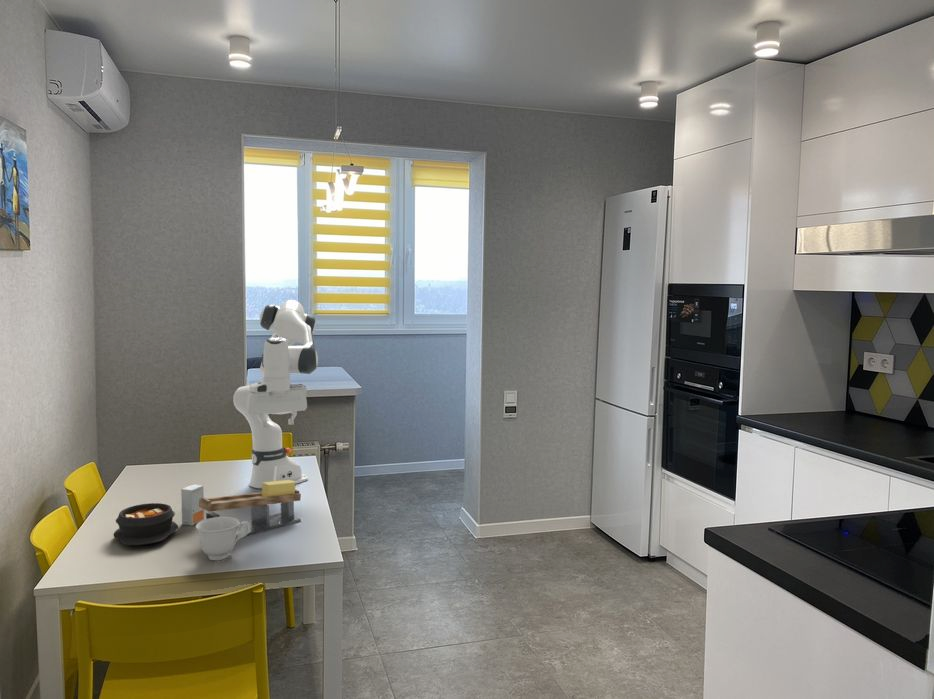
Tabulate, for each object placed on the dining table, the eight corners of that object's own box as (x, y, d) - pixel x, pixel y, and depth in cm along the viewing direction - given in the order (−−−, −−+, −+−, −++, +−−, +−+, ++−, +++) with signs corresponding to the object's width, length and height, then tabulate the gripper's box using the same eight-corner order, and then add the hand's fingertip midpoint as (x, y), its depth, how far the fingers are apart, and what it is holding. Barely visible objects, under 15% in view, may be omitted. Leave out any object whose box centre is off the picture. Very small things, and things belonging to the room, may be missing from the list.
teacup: (250, 561, 206) (249, 527, 205) (195, 566, 202) (194, 532, 201) (250, 545, 218) (249, 513, 217) (198, 551, 213) (197, 518, 212)
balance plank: (289, 495, 245) (290, 487, 245) (300, 500, 240) (301, 491, 240) (198, 506, 222) (199, 496, 222) (208, 511, 218) (209, 502, 217)
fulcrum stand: (285, 514, 246) (284, 491, 245) (300, 521, 239) (300, 498, 238) (200, 536, 225) (199, 511, 224) (215, 544, 218) (214, 519, 217)
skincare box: (192, 526, 234) (190, 490, 233) (181, 524, 236) (180, 488, 235) (204, 520, 240) (203, 485, 239) (194, 518, 241) (193, 483, 240)
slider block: (288, 492, 243) (289, 479, 243) (294, 495, 240) (295, 482, 240) (261, 495, 236) (262, 482, 236) (267, 498, 233) (268, 485, 233)
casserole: (177, 546, 217) (176, 519, 216) (109, 554, 210) (108, 527, 209) (179, 519, 240) (178, 495, 239) (117, 526, 234) (116, 501, 233)
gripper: (303, 382, 252) (304, 421, 253) (244, 385, 242) (245, 426, 243) (309, 384, 247) (309, 424, 248) (249, 388, 236) (249, 429, 237)
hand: (277, 425), depth 245 cm, fingers open, 8 cm apart
